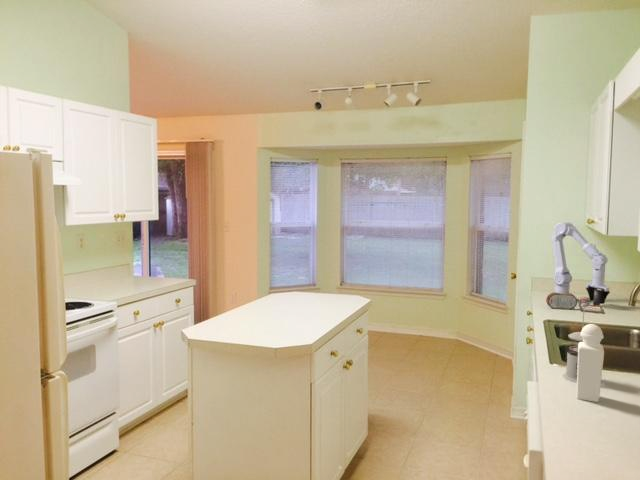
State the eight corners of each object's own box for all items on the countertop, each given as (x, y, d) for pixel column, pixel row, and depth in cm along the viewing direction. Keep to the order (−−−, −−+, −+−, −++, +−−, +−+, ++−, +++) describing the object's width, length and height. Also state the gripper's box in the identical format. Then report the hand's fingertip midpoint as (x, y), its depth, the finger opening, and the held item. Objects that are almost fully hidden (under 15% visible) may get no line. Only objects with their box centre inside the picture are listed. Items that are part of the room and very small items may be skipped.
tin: (575, 308, 268) (576, 293, 267) (577, 310, 264) (578, 294, 264) (545, 307, 269) (546, 291, 268) (547, 308, 266) (548, 293, 265)
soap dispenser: (574, 391, 154) (579, 320, 152) (599, 395, 151) (604, 323, 149) (575, 399, 148) (580, 325, 146) (600, 403, 145) (606, 328, 143)
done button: (579, 301, 277) (579, 296, 276) (588, 302, 275) (588, 297, 275) (579, 303, 273) (580, 298, 273) (589, 304, 271) (589, 299, 271)
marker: (592, 305, 275) (594, 289, 275) (599, 306, 274) (600, 289, 273) (593, 306, 272) (594, 290, 272) (599, 307, 271) (601, 290, 270)
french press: (555, 374, 169) (560, 300, 166) (585, 371, 172) (590, 299, 169) (577, 385, 159) (582, 306, 157) (608, 382, 162) (614, 305, 160)
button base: (578, 304, 277) (579, 299, 277) (589, 305, 275) (589, 300, 275) (578, 306, 273) (579, 300, 273) (589, 307, 271) (589, 301, 270)
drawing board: (580, 306, 272) (580, 304, 272) (601, 308, 268) (601, 307, 268) (580, 311, 261) (580, 309, 261) (602, 313, 257) (603, 311, 257)
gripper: (582, 274, 278) (581, 299, 279) (601, 279, 264) (599, 305, 265) (594, 274, 279) (592, 299, 281) (613, 279, 265) (611, 304, 266)
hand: (596, 302), depth 273 cm, fingers open, 7 cm apart
